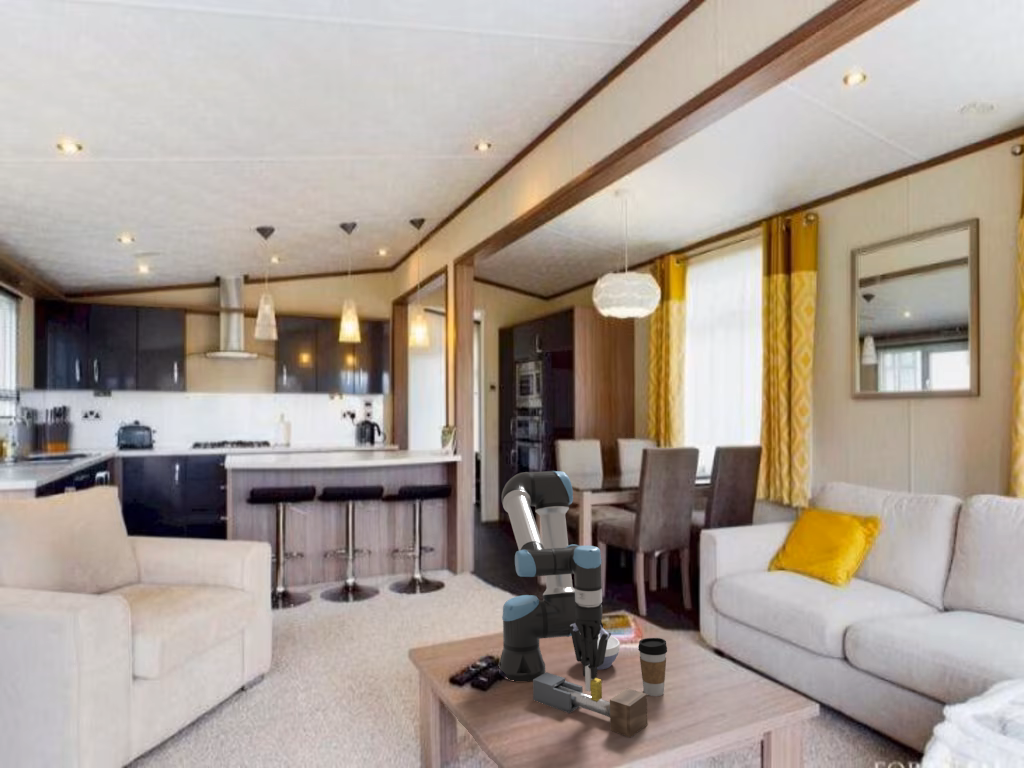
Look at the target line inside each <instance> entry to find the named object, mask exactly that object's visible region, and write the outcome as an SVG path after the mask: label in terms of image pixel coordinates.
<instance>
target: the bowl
mask: <svg viewBox="0 0 1024 768" xmlns="http://www.w3.org/2000/svg"><path fill="white" fill-rule="evenodd" d="M599 641H600V634H599V635H598V645H599ZM620 649H621V644H620V640H619V639H618V638H617V637H615V636H612V635H611V636H610V637H609V639H608V642H607V647H606V652H605V658H604V663H603V664H602V665H600V666H599V667H597V671H598V670H601V671H602V670H606V669H608V668H611V666H612V665H613V663H614V662H615V661H616V659H617V656H618V655H619V653H620ZM589 664H590V663H589Z"/></svg>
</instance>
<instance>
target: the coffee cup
mask: <svg viewBox="0 0 1024 768" xmlns="http://www.w3.org/2000/svg"><path fill="white" fill-rule="evenodd" d="M637 647H638V648H637V649H638V651H639V662H640V670H641V678H642V679H641V680H642V688H643V693H645V694H647V696H651V697H659V696H662V695H664V693H665V680H666V668H667V667H666V665H667V657H666V655H667V652H668V647H667V641H666V640H665V639H664V638H660V637H646V638H642V639H640V640H639V641H638V646H637Z"/></svg>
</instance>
